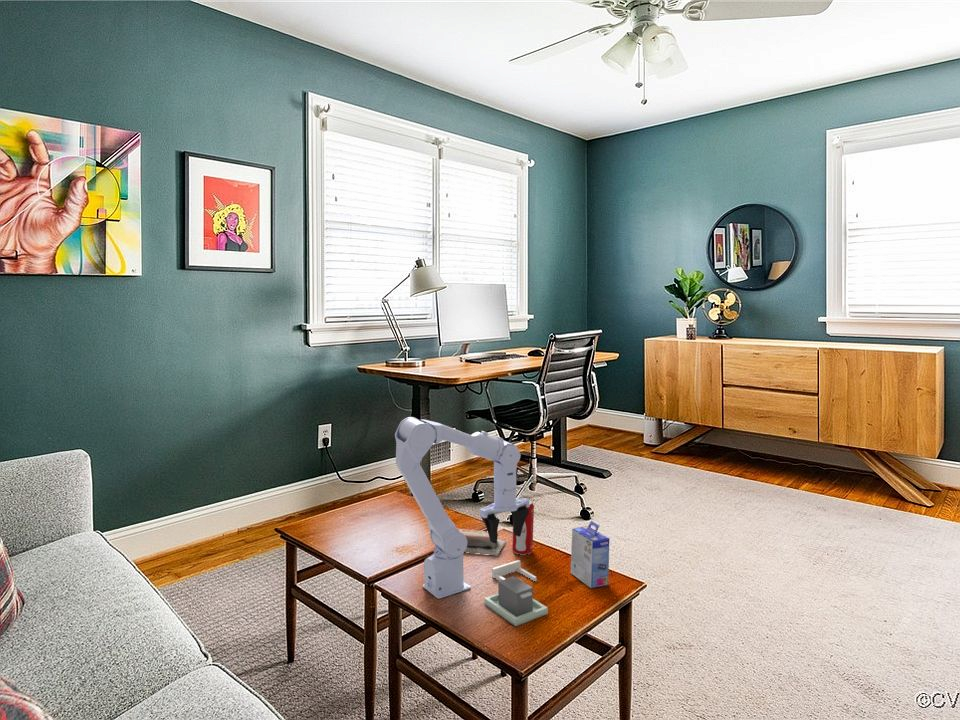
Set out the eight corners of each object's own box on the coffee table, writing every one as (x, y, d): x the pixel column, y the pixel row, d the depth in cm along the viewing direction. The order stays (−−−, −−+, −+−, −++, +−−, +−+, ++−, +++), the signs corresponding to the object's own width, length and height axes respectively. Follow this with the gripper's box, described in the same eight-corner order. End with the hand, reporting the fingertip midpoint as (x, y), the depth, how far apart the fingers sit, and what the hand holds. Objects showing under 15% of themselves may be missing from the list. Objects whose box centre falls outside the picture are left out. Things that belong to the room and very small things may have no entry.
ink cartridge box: (610, 585, 151) (610, 529, 150) (591, 589, 149) (591, 532, 147) (588, 569, 160) (588, 516, 159) (570, 573, 158) (570, 519, 156)
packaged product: (436, 535, 173) (447, 523, 182) (437, 552, 173) (447, 538, 183) (498, 541, 168) (505, 528, 178) (498, 558, 169) (505, 544, 178)
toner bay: (510, 589, 149) (510, 579, 149) (492, 577, 156) (491, 568, 156) (537, 580, 154) (537, 570, 154) (518, 569, 161) (518, 559, 160)
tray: (515, 626, 132) (515, 619, 132) (484, 604, 142) (484, 597, 142) (547, 613, 138) (547, 607, 137) (515, 593, 147) (515, 587, 147)
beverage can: (521, 545, 176) (521, 495, 174) (538, 552, 171) (538, 500, 170) (507, 551, 172) (507, 500, 170) (524, 558, 167) (524, 505, 166)
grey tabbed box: (518, 618, 135) (518, 594, 134) (498, 604, 141) (498, 581, 141) (535, 612, 138) (534, 589, 137) (514, 598, 144) (514, 576, 143)
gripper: (490, 497, 149) (491, 550, 150) (536, 486, 157) (537, 537, 158) (475, 489, 154) (475, 541, 156) (520, 479, 162) (520, 528, 164)
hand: (505, 538), depth 157 cm, fingers open, 7 cm apart
